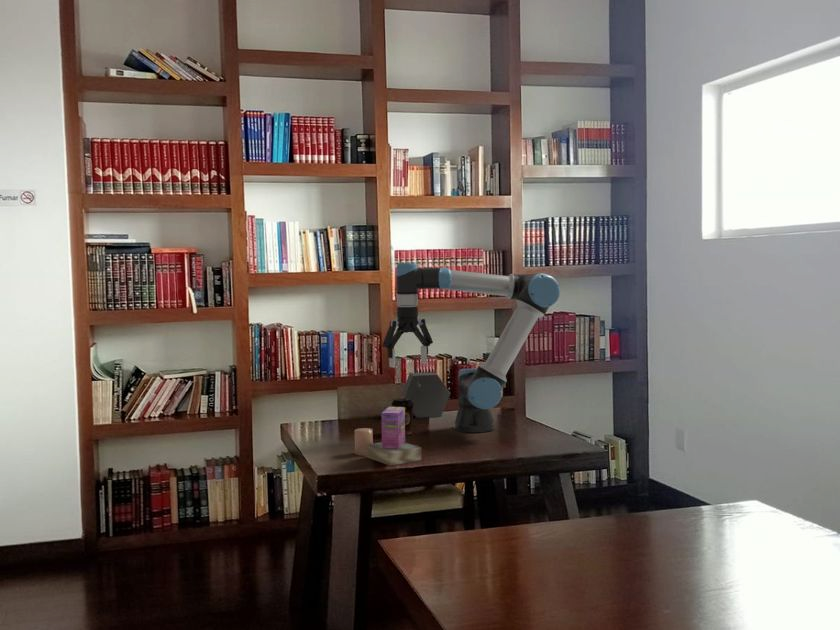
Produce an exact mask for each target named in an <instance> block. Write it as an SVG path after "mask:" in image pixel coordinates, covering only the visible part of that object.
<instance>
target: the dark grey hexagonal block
mask: <svg viewBox="0 0 840 630" xmlns="http://www.w3.org/2000/svg"><path fill="white" fill-rule="evenodd" d="M419 384H420V386H419ZM450 396H451V392H450V391H449V389H448V388H447V386H446V385H445V384H444V382H443V380H442V379H441V378H440V376H439V374H437V373H436V372H432V371H431V372H409V374H408V376H407V379H406V382H405V384H404V386H403V389H402V391H401V394H400V398H411V399H412V401H413V402H414V406H413V413H412V416H414V417H415V418H416V419H421V418H422V419H423V418H424V419H425V418H439V417H440V418H441V417H442V416H443V414H444V410H445V408H446V407H447V403H448V401H449V399H450Z"/></svg>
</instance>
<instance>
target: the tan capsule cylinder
mask: <svg viewBox="0 0 840 630" xmlns="http://www.w3.org/2000/svg"><path fill="white" fill-rule="evenodd" d="M373 432H374V431H373V428H369V427H364V428H363V427H362V428H356V429H354V454H355V456H361V457H364V456H365V457H367V445H369V444H374V440H373V439H374V438H373V436H374V433H373Z"/></svg>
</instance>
